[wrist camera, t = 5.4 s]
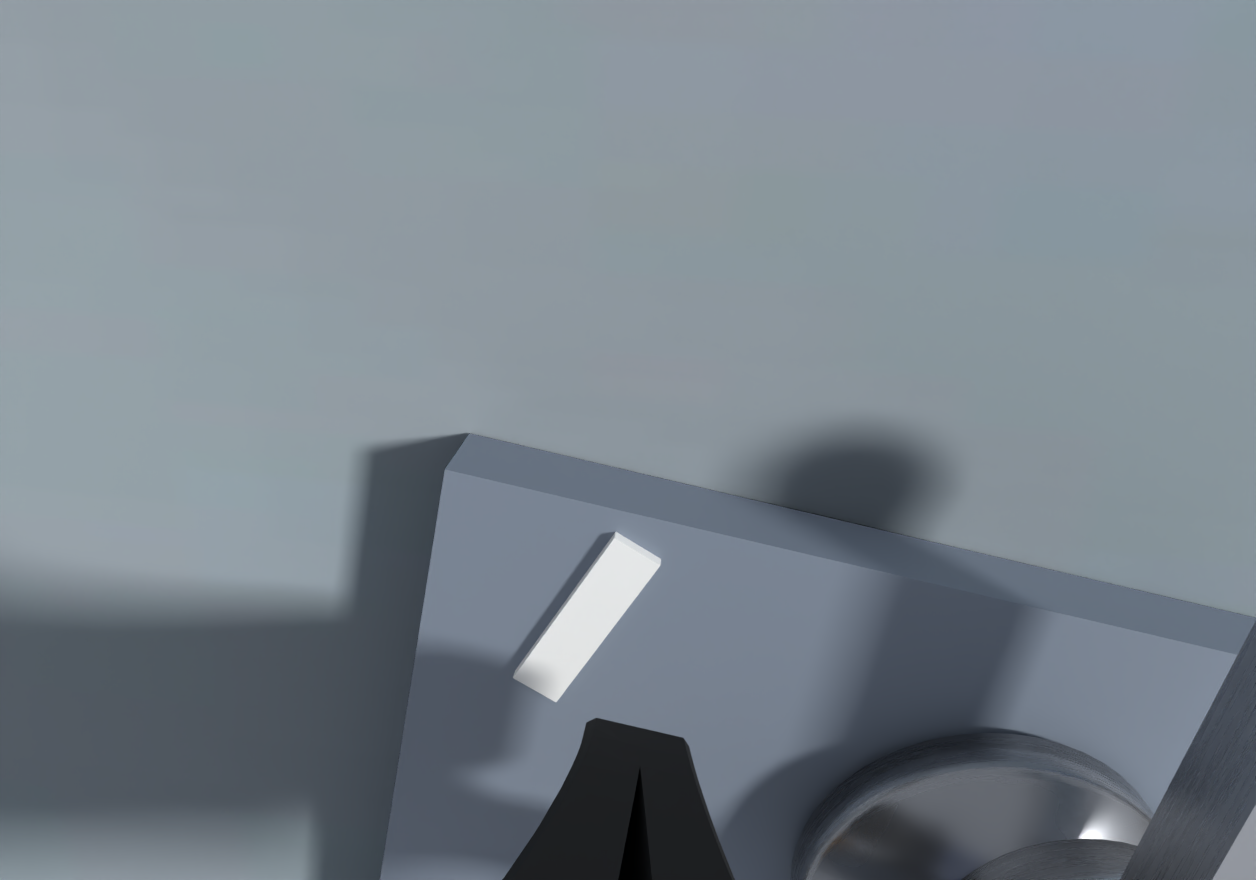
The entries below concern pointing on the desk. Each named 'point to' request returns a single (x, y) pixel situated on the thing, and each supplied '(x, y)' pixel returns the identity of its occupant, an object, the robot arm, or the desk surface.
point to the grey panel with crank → (748, 656)
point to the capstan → (1045, 809)
